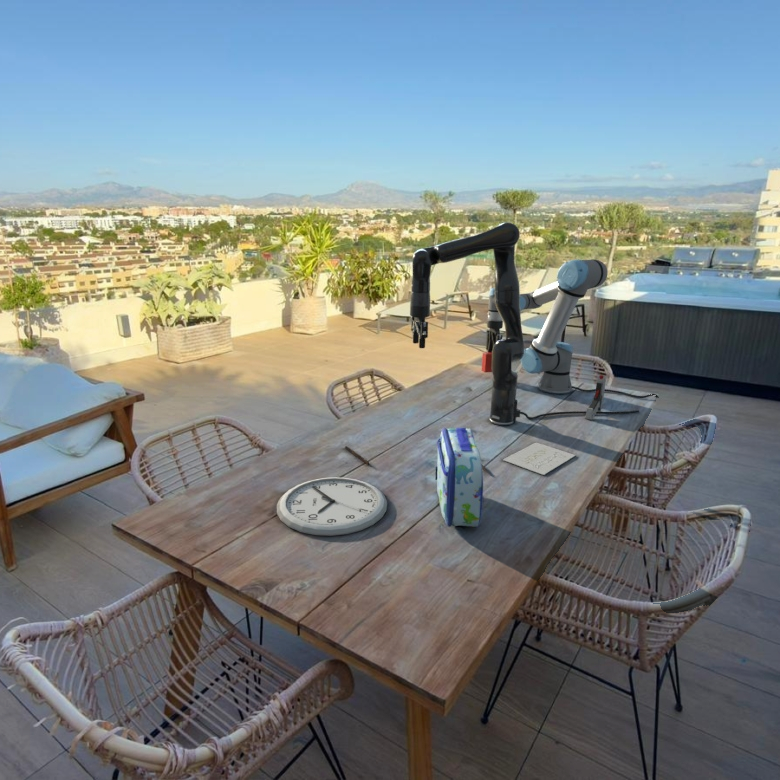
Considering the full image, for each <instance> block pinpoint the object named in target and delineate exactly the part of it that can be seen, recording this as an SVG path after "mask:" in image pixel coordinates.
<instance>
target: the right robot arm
mask: <svg viewBox="0 0 780 780" xmlns="http://www.w3.org/2000/svg"><path fill="white" fill-rule="evenodd" d="M608 273H609V271H608V268H607V265H606V264H605V263H604V262H603V261H601V260H599V259H596V258H594V259H576V258H575V259H571V260H568V261H566V262H564V263H562V265H561V266H560V267H559V269H558V271H557V274H556V279H557V280H556V281H554V282H552V283H550V284H547V285H545V286H543V287H540V288H538V289H535V290H534V291H530V292H528V293H527V292H526V293H520V312H522V311H523V310H534V309H535V310H536V309H539V308H541V307H542V306H543V305H546V304H548V303H550V302H553V301H554V302H553V304H552V306H551V308H550V310H549V312H548V315H547V316H546V319H545V321H544V324H543V326H542V328H541V330H540V333H539V334H538V337H537V338H533V339H532V341H531V343H530V346H529V347H527V348H524V355H523V357H522V358H521V359H520V363H521V366H522V368H523V369H524V370H525V372H527V373H528V374H540V373H543V374H542V376H541V378H540V380H539V381H538V383H537V386H538V388H537V389H538V390H539V391H541V392H543V393H546V394H553V395H568V394H571V393H572V391H573V389H574V390H577V391H579V392H584V393H591V392H595V391H596V388H593V389H583V388H580V387H577V386H574V385H572V381H571V376H570V375H571V368H572V367H571V366H572V359H573V353H574V352H573V348H574V347H573V344H570V343H568V342H563V341H560V338H561V336H562V335H563V332H564V330H565V329H566V326H567V325H568V322H569V320H570V318H571V316H572V314H573V312H574V310H575V308H576V306H577V303H578V302H579V300H581V299H583V298H585V296H586V294H587V293H588V291H590V290H591V289H594V288H597V287H600V286H601V285H603V284H604V283H605V282H606V280H607V278H608ZM487 308H488V309H487V311H488V312H487V323H486V324H487V325H486V326H487V328H488V330H486V341H485V350H486V351H487V352H492V350H493V346H494V344H495V343H496V342H497V341H499V340H503V337H504V336H503V334H501V329H503V327H504V322H503V320H502V318H501V316H500V314H499V312H498V310H497V308H496V305H495V287H492V288H490V290H489V295H488V307H487ZM491 367H492V363H491ZM604 392H607V393H615V394H621V395H625V396H628V397H632V398H637V399H646V398H649V397H655V398H656V399H660V397H659V395H658V394H656V393H649V394H650V395H649V394H646V395H637V394H632V393H628V392H624V391H619V390H615V389H614V390H613V389H606V388H605V391H604ZM651 394H652V395H651ZM653 395H656V396H653Z"/></svg>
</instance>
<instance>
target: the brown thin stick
mask: <svg viewBox="0 0 780 780" xmlns="http://www.w3.org/2000/svg"><path fill="white" fill-rule="evenodd" d="M344 449H345V450H346V451H348V452H349V453H350V454H352V455H353V456H355V457H356V458H358V459H359V460H361V461H362V462H363V463H364V464H366V465H370V461H368V460H367V459H366V458H364V457H363V456H361V455H360V454H358V453H357V452H356V451H354V450H353V449H352V448H350V447H348V446H347V445H345V446H344Z"/></svg>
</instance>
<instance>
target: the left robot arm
mask: <svg viewBox="0 0 780 780" xmlns="http://www.w3.org/2000/svg"><path fill="white" fill-rule="evenodd" d="M520 233H521V232H520V229H519V227H518V226H517V225H516V224H514V223H512V222H503V223H500V224H499V225H497V226H495V227H493V228H490V229H489V230H486V231H484V232H481V233H478V234H475V235H470V236H466V237H461V238H458V239H453V240H451V241H446V242H444V243H440V244H437V245H434V246H429V247H425V248H420V249H417V250H416V251H414V252H413V254H412V257H411V259H412V260H411V261H412V278H411V289H410V290H411V292H410V293H411V294H410V297H409V298H410V303H409V316H410V317H411V323H410V325H411V327H410V331H411V333H412V343H413V344H414V345H415V344H418V348H419V349H425V348H426V339H428V338H429V322H428V321H426V318H429V317H430V315H431V273H432V266H434V265H438V264H446V263H450V262H454V261H457V260H460V259H463V258H466V257H469V256H472V255H475V254H477V253H481V252H485V251H489V250H492V251H493V258H494V288H495V305H496V308H497V310H498V312H499V314H500V316H501V318H502V321H503V326H504V330H505V331H504V332H505V338H504V339H503V338H502V340H499V341H497V342H496V343H495V344H494V346H493V350H492V372H491V373H492V388H491V399H490V410H489V411H490V413H489V414H490V415H489V422H490V423H491V424H494V425H497V426H511V425H513V424H516V423H517V418H521V415H523V416H524V417H525V418H526V419H527V420H535V419H539V418H542V417H547V416H553V415H554V416H556V415H569V414H571V415H573V414H586V410H584V411H582V410H579V411H577V410H575V411H558V412H557V411H555V412H547V413H541V414H538V415H535V416H529V415H528V414H527V413H526V412H524V411H521V410H520V409H519V408H518V399H517V388H518V377H519V376H518V373H517V372H516V371H514V370H512V363H515V362H516V363H517V362H519V361H521V358H522V357H523V355H524V350H525V343H524V335H523V328H522V327H523V326H522V317H521V315H522V314H521V311H520V294H521V290H520V289H521V288H520V280H519V275H518V272H517V268H516V262H515V260H516V259H515V257H516V256H515V253H516V251H515V249H516V245H517V243H518V242H519V240H520V235H521V234H520ZM637 413H640V410H639V409H638V410H626V411H601V412H600V411H597V412H596V414H595V415H597V414H599V415H621V414H622V415H623V414H637Z"/></svg>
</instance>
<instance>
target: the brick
mask: <svg viewBox="0 0 780 780" xmlns="http://www.w3.org/2000/svg"><path fill="white" fill-rule="evenodd" d="M491 363H492V352H488V351H487V352H482V359H481V371H482V372H483V373H492V367H491Z"/></svg>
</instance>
